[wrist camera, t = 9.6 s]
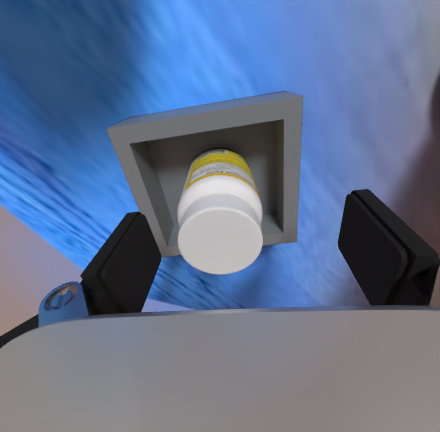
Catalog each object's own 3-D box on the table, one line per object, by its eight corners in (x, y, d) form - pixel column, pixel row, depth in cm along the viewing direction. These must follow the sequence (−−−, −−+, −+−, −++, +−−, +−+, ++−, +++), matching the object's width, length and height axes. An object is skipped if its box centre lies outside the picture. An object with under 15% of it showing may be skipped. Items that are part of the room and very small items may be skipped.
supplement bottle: (227, 211, 19) (232, 292, 12) (178, 184, 18) (150, 257, 11) (262, 165, 17) (293, 232, 10) (209, 130, 15) (201, 179, 8)
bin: (284, 90, 15) (303, 95, 12) (284, 214, 20) (296, 241, 17) (130, 117, 16) (106, 128, 13) (168, 228, 21) (158, 257, 18)
